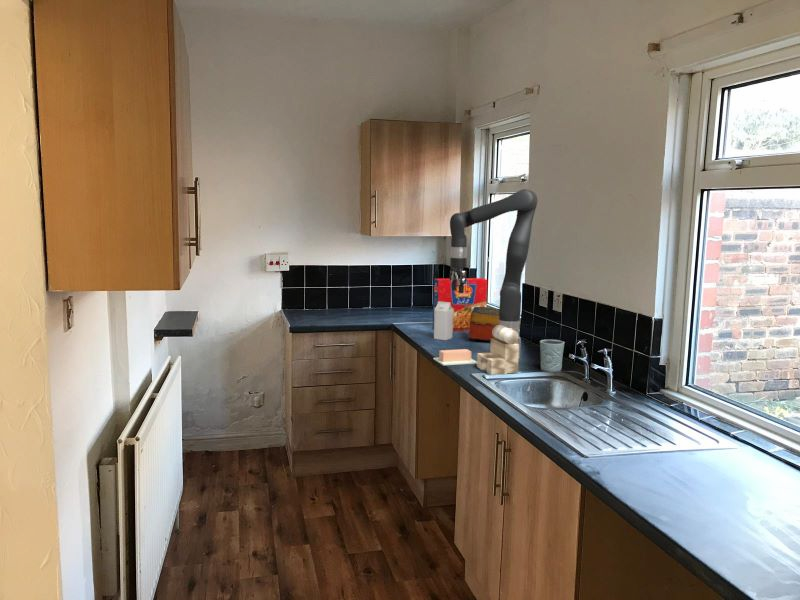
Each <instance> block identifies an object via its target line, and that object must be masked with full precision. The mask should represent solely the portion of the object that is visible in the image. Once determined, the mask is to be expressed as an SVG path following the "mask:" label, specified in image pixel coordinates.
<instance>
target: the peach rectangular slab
mask: <svg viewBox="0 0 800 600" xmlns="http://www.w3.org/2000/svg"><path fill="white" fill-rule="evenodd" d="M438 355H439V357H438V358H439V360H441V361H442V362H453V361H471V359H472V351H471V350H469V349H468V348H462V349H460V348H459V349H445V350H442V349H441V350H439V351H438Z"/></svg>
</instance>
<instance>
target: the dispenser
mask: <svg viewBox="0 0 800 600" xmlns="http://www.w3.org/2000/svg"><path fill="white" fill-rule="evenodd" d="M492 335H493V337H494V339H491V342H490V351H489V352H477V353H476V355H477V356H476V361H477V363H476V368H478V369H479V368H480V370H486V374H488V373H489V374H488V375H490V374H492V375H491V376H494V375H493V374H501V375H508V374H507V373H516V374H518V373H519V358H518V357H519V344H516V342H517V340H518V333H517V332H516V331H514V330H512V329H509V328H507V327H504V326H502V325H496V326H495V327H494V328H493V330H492Z"/></svg>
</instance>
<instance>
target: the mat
mask: <svg viewBox="0 0 800 600" xmlns="http://www.w3.org/2000/svg"><path fill="white" fill-rule="evenodd" d="M433 360H434V361H435V362H437V363H439V364H440V365H442V366H452V365H453V366H455V365H457V366H458V365H472V364H476V365H477V360H475V359H473V358H471V361H453V362H442V361H441V360H439V357H433Z"/></svg>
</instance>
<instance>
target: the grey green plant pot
mask: <svg viewBox="0 0 800 600" xmlns="http://www.w3.org/2000/svg"><path fill="white" fill-rule="evenodd" d="M564 348H565V341H562V340H559V339H541V340H540V341H539V349H540V351H539V352H540V356H539V357H540V370H541V371H544V372H548V373H556V372H557V373H559V372H561V371H562V367H563V356H564V355H563V354H564V350H565V349H564Z"/></svg>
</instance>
